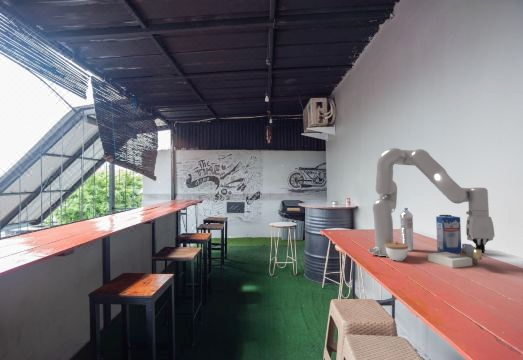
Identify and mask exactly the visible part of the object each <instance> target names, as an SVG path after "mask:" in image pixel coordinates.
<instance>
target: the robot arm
mask: <svg viewBox="0 0 523 360" xmlns="http://www.w3.org/2000/svg"><path fill="white" fill-rule="evenodd" d="M394 165H397V166H398V165H400V166H402V165H403V166H415V167H416V168H417V169H418V170H419V171H420V172H421V173H422V174H423V175H424V176H425V177H426V178H427V179H428V180H429V181H430V182H431V183H432V184H433V185H434V186H435V187H436V188H437V189H438V190H439V192H441V193H442V194H443V196H445V197H446V199H448V200H449V201H450V202H452V203H454V204H456V205H457V204H462V203H468V204H467V205H468V211H466V212H465V215H468V216H467V218H466V225H465V233H466V236H467V237H466V240H467V241H471V242H473V243H474V244H475V247H476V248H477V249H481V251H482V254H483V255H484V254H485V252H486V246H485V245H487V243H488V242H490V241H493V240H494V238H495V227H494V222H493V220H492V219H493V218H492V217H491V216H490V211H489V209H490V208H489V191H488V189H487V188H486V187H470V188H469V187H461V186H460V185H459V184H458V183H457V182H456V181H455V180H453V179H452V177H451V176H450V175H449V174H448V172H447V171H446V169H445V168H444V167H443V166H442V164H440V163H439V162H438V161H437V160H435V159H434V158H433V156H431V155H430V153H429V152H428V151H427V150H425V149H421V148H417V149H415V150H411V149H408V150H407V149H400V148H399V147H398V148H397V147H392V148H389V149H387V150H385V151H384V152H382V153H381V154H380V155H379V158H378V160H377V165H376V175H375V177H376V178H375V179H376V180H375V191H376V193H377V194H378V195H379V198H378V199H377V200H375V201H374V203H373V205H372V213H373V221H374V222H373V223H374V246H373V247H372V248H368V249H367V252H368V253H372V255H373V254H374V255H373V256H375V255H378V256H377V257H380V256H386V257H385V258H389V257H388V255H387V253H386V246H385V245H386V244H387V243H394V224H393V223H394V221H393V215H392V214H393V213H394V212H395V210H396V209H397V203H398V202H397V201H398V200H397V199H398V186H397V183H396V182H395V181H394V180H393V179H394Z"/></svg>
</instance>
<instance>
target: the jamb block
mask: <svg viewBox="0 0 523 360" xmlns="http://www.w3.org/2000/svg"><path fill="white" fill-rule="evenodd" d="M458 255H462V256H466V257H470V258H472V257H471V256H469V255H467V254H466V253H463V252H462V251H461V252H460V253H458ZM478 261H479V260H477V259H474V258H472V266H473V265H478Z"/></svg>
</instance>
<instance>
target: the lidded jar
mask: <svg viewBox="0 0 523 360" xmlns="http://www.w3.org/2000/svg"><path fill="white" fill-rule="evenodd" d="M385 246H386V253H387V255H388V257H387V258H389V259H390V260H391V259H392V260H391V261H393V260H396V261H395V262H403V261H404V260H405V259H406V258H407V257H408V252H409V251H408V245H406V244H401V242H398V241H395V242H393V243H387V244H386V245H385Z"/></svg>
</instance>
